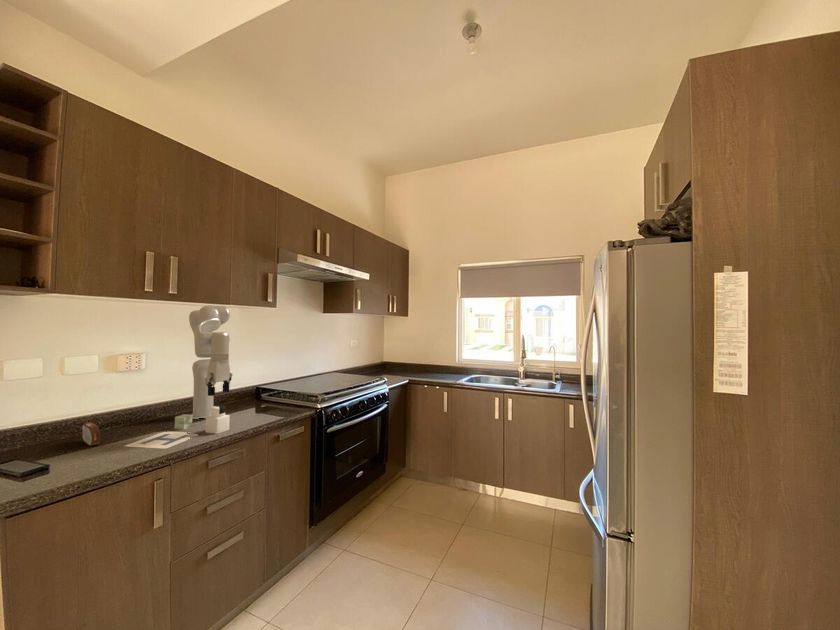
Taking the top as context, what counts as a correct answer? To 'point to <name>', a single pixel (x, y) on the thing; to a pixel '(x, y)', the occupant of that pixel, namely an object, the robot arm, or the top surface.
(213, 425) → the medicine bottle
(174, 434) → the letter sheet
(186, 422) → the cover block
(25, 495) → the top surface
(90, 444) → the tin
